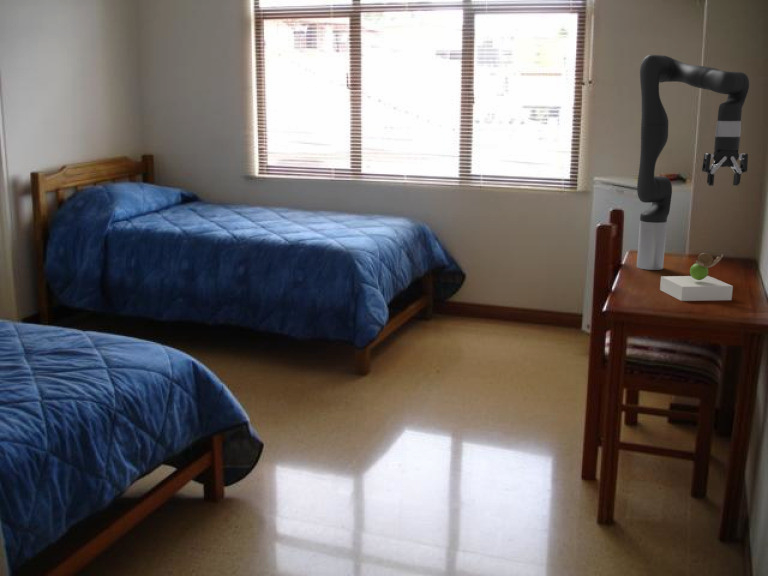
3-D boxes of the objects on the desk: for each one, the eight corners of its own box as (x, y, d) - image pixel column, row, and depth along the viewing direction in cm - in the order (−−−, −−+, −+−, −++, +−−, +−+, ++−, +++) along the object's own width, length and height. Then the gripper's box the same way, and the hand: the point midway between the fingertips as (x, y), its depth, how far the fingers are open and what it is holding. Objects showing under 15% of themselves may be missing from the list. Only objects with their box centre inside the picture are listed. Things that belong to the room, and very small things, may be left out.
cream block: (659, 291, 265) (660, 276, 264) (707, 290, 267) (708, 275, 266) (681, 302, 250) (682, 286, 249) (731, 301, 251) (732, 286, 250)
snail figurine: (705, 287, 255) (722, 261, 246) (685, 279, 256) (701, 253, 247) (708, 276, 258) (724, 250, 249) (688, 268, 259) (704, 242, 250)
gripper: (742, 135, 269) (738, 184, 272) (701, 135, 267) (697, 184, 271) (754, 135, 261) (749, 186, 265) (712, 135, 260) (707, 186, 264)
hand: (723, 185), depth 268 cm, fingers open, 8 cm apart
